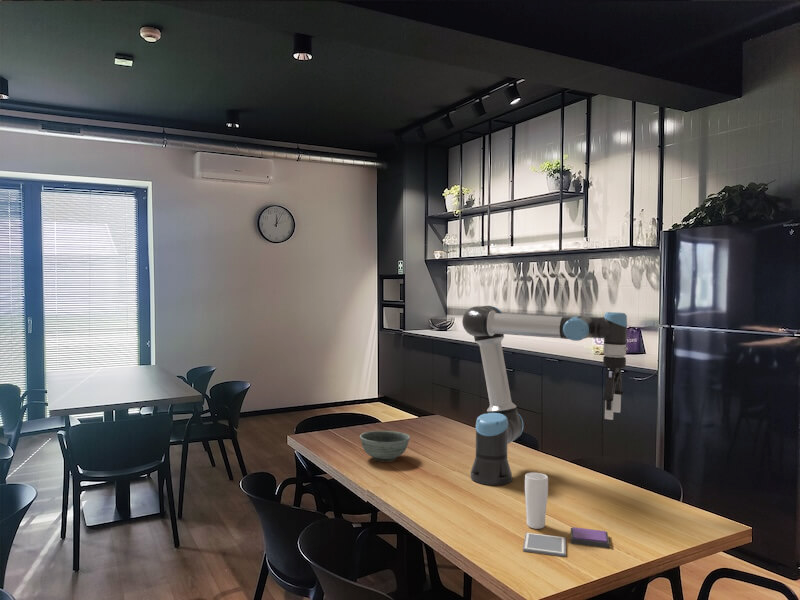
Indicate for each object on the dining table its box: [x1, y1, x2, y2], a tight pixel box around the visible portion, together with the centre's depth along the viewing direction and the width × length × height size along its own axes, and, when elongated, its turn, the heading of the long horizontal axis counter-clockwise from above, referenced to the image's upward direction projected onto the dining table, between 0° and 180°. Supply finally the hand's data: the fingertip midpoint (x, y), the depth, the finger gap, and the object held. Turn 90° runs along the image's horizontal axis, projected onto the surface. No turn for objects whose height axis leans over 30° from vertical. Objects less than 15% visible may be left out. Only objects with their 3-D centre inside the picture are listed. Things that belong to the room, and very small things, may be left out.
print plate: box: [522, 532, 567, 558], centre depth 157 cm, size 11×11×1 cm
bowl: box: [359, 430, 411, 463], centre depth 236 cm, size 21×21×10 cm
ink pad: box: [570, 527, 610, 549], centre depth 161 cm, size 10×8×2 cm
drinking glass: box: [524, 472, 549, 530], centre depth 170 cm, size 7×7×15 cm
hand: (612, 415), depth 203 cm, fingers open, 13 cm apart
